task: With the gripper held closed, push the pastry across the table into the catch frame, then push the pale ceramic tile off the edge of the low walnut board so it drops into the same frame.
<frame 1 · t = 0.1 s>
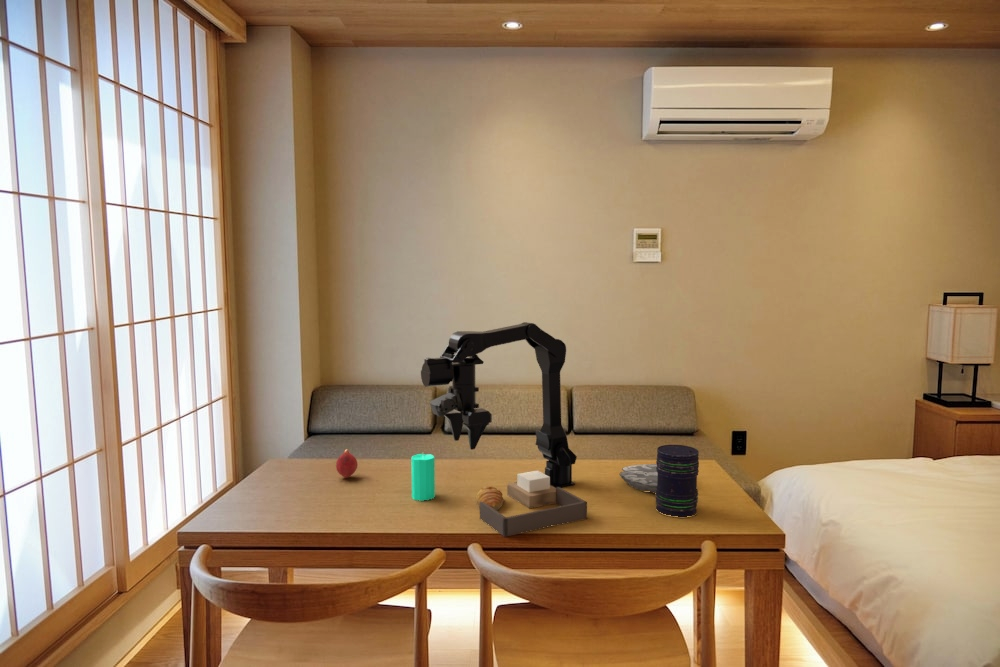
hand: (464, 444, 169), 14 cm above the table, tool pointing down, fingers open, 9 cm apart
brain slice: (651, 485, 183), on the table
storage jar: (676, 511, 164), on the table
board: (533, 498, 172), on the table
onion: (347, 478, 188), on the table
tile: (533, 486, 171), point 3 cm above the table, touching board
pastry: (490, 506, 168), on the table
catch frame: (533, 518, 158), on the table
candle: (423, 497, 173), on the table
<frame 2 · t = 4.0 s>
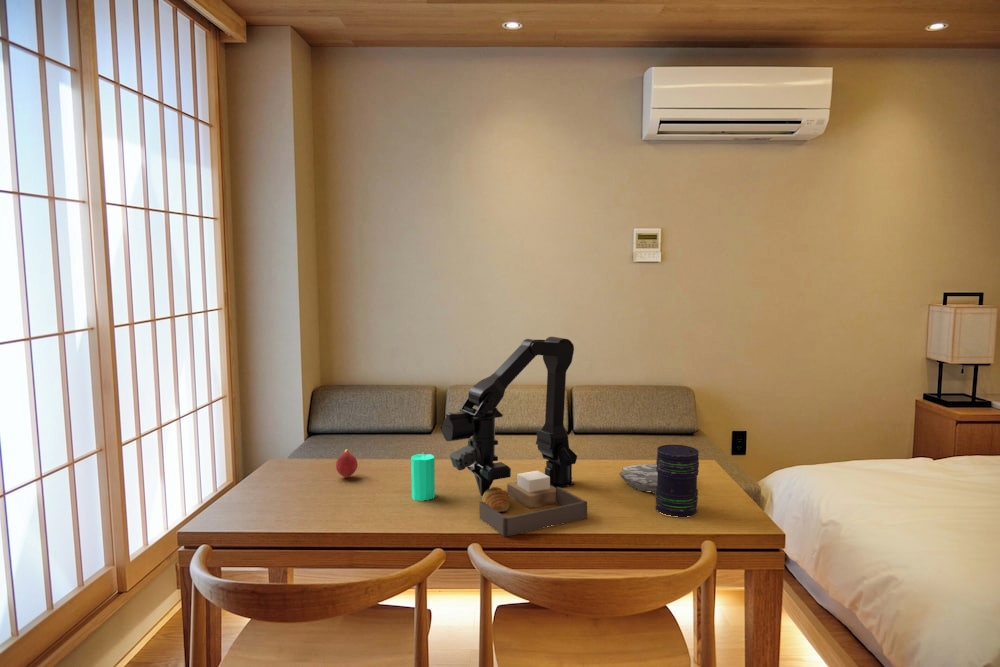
hand: (483, 496, 171), 1 cm above the table, tool pointing down, fingers closed
pastry: (497, 507, 167), on the table, touching gripper
everything else where it was.
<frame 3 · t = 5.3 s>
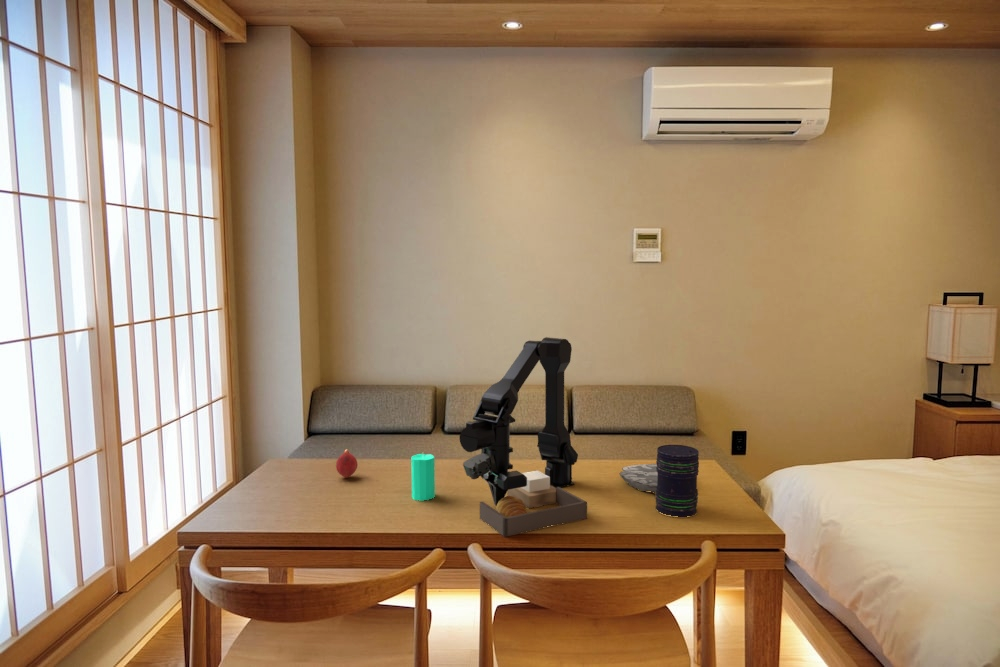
hand: (497, 505, 164), 1 cm above the table, tool pointing down, fingers closed
pastry: (513, 516, 160), on the table, touching gripper
everything else where it was.
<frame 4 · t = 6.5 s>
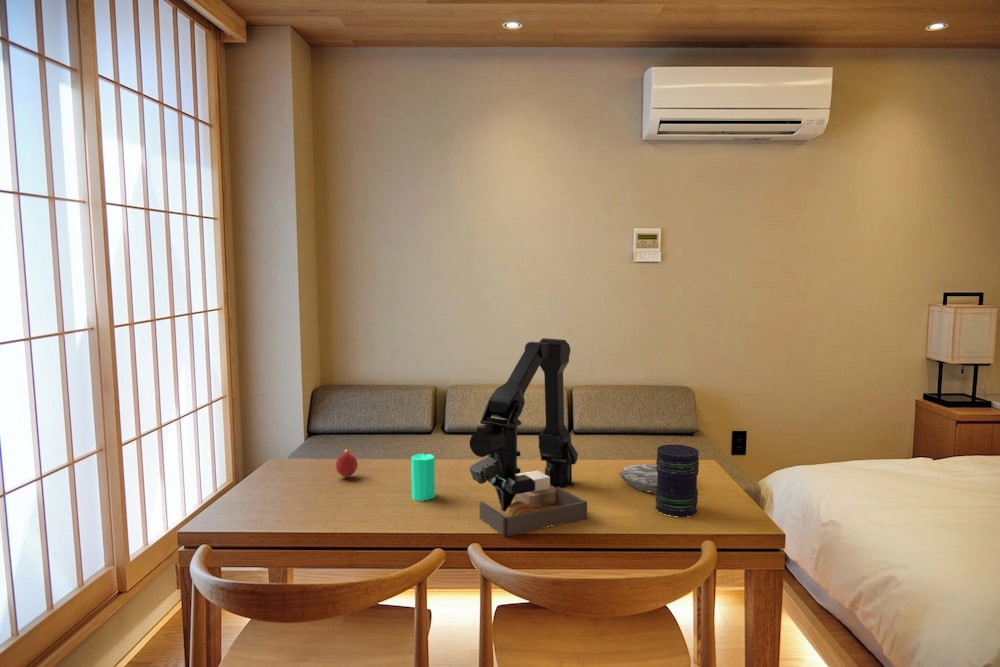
hand: (504, 510, 161), 1 cm above the table, tool pointing down, fingers closed
pastry: (523, 522, 158), on the table
everything else where it was.
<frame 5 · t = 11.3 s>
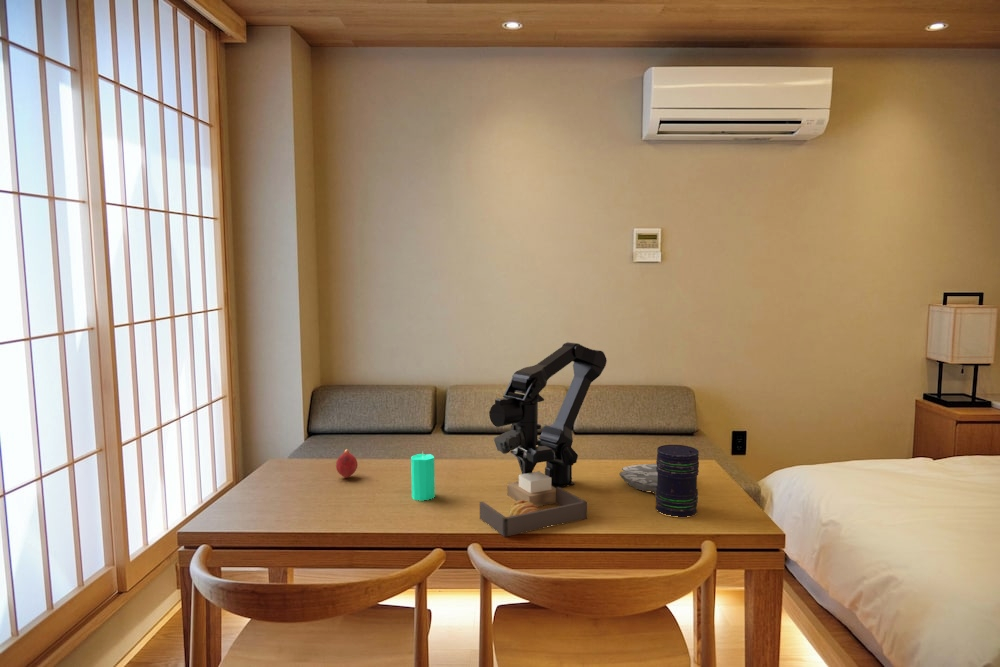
hand: (526, 479, 175), 4 cm above the table, tool pointing down, fingers closed
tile: (534, 487, 171), point 3 cm above the table, touching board, gripper
pastry: (527, 521, 158), on the table
everything else where it was.
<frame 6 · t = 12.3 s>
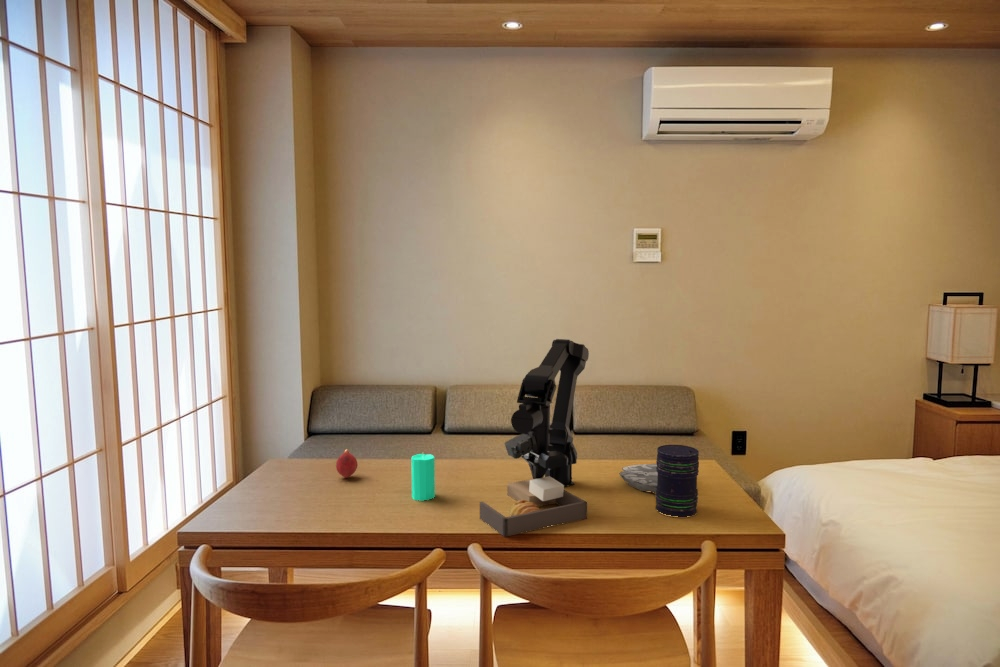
hand: (537, 485, 170), 4 cm above the table, tool pointing down, fingers closed
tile: (546, 494, 166), point 3 cm above the table, tilted 6°, touching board, gripper
everything else where it was.
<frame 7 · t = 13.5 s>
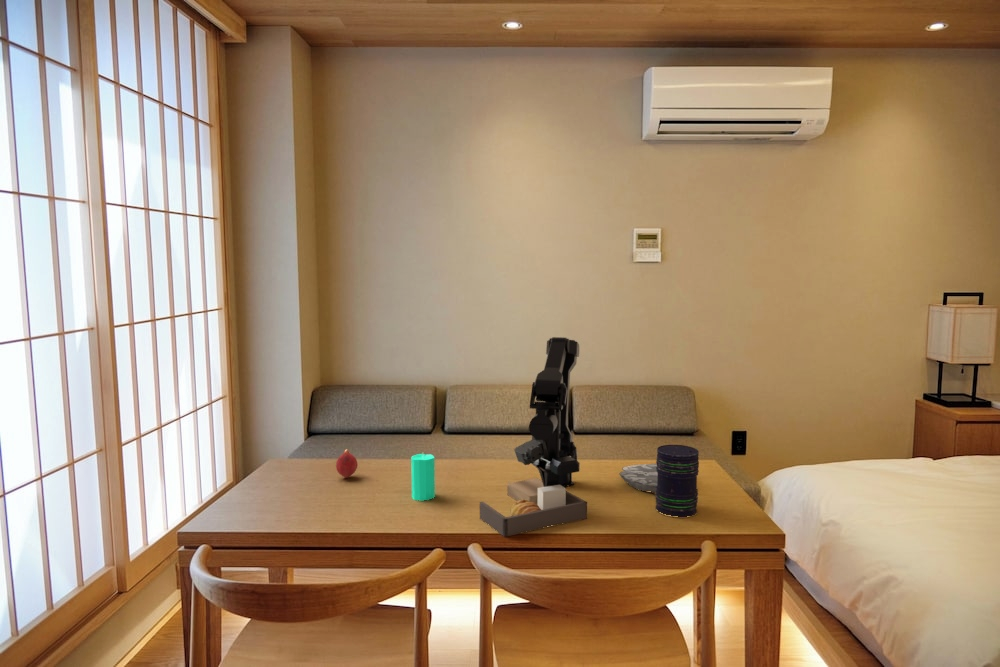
hand: (547, 491, 165), 4 cm above the table, tool pointing down, fingers closed
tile: (548, 498, 164), point 3 cm above the table, tilted 90°
everything else where it was.
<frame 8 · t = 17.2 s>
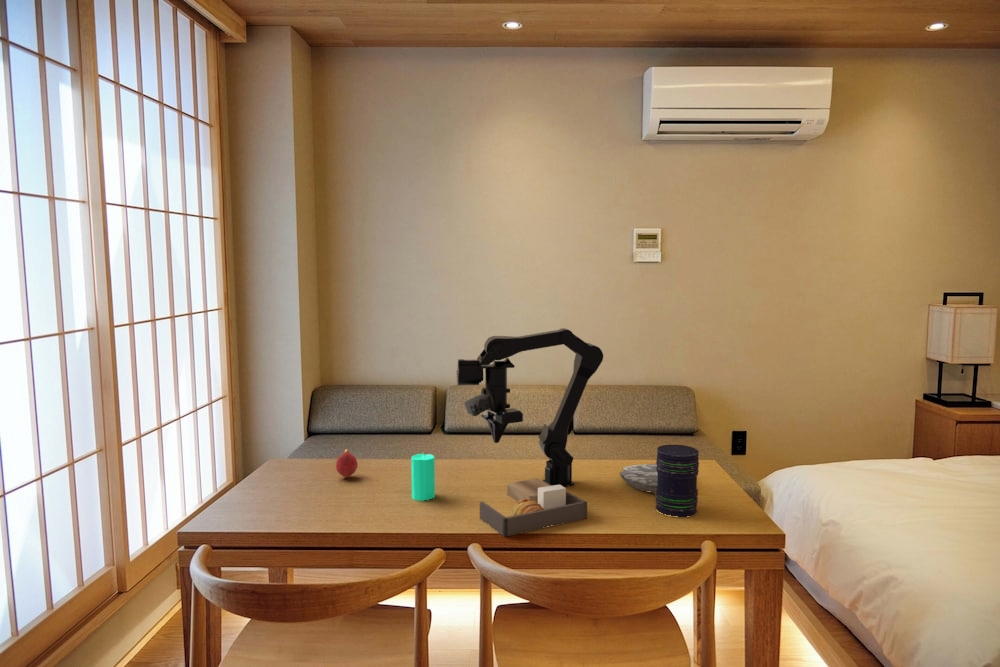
hand: (496, 442, 180), 12 cm above the table, tool pointing down, fingers closed
at the end: pastry inside the target area (0.8 cm from its centre), on the table; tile inside the target area (6.9 cm from its centre), point 2.9 cm above the table; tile touching table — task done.
